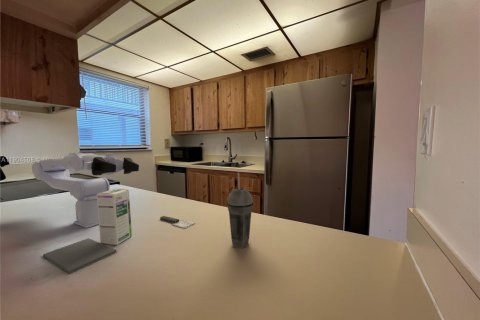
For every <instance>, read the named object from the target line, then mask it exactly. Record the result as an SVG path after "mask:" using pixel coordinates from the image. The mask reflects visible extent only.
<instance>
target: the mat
mask: <svg viewBox="0 0 480 320" xmlns="http://www.w3.org/2000/svg"><path fill="white" fill-rule="evenodd" d="M116 253H117V249H115V248H113V247H110V246H108V245H107V244H103V243H101V242H100V241H97V240H94V239H91V238H89V237H88V238H86V239H82V240H80V241H77V242H74V243H71V244H68V245H64V246H63V247H59V248H57V249H54V250H51V251H49V252H46V253H43V254H42V257H43V258H44V259H46V260H48V262H51V263H52V264H54V265H56V267H59V268H60V269H62V270H64V271H65V272H67V273H68V274H72V273H75V272H77V271H78V270H81V269H83V268H85V267H87V266H90V265H91V264H94V263H95V262H98V261H100V260H103V259H105V258H106V257H109V256H111V255H113V254H116Z"/></svg>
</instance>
